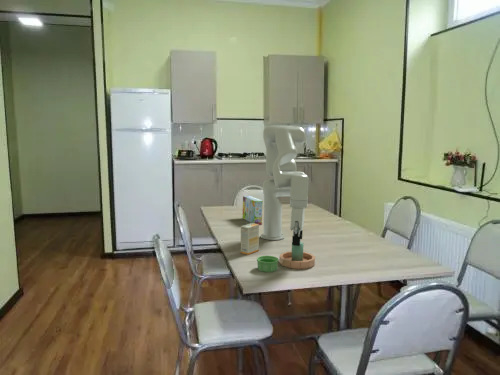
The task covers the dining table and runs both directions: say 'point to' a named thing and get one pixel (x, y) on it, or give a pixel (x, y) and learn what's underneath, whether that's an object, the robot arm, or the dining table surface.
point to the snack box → (252, 209)
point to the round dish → (306, 263)
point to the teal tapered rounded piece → (297, 252)
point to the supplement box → (249, 238)
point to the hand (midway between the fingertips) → (297, 242)
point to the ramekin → (267, 263)
